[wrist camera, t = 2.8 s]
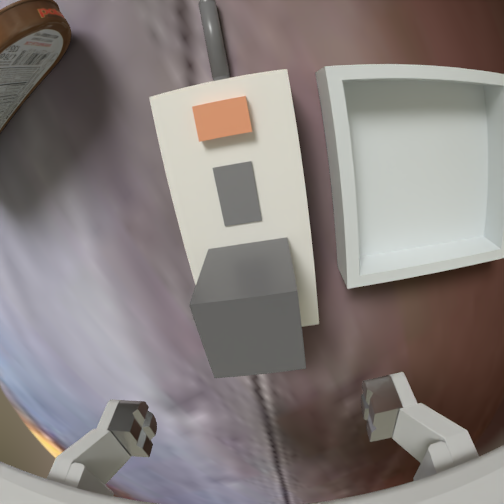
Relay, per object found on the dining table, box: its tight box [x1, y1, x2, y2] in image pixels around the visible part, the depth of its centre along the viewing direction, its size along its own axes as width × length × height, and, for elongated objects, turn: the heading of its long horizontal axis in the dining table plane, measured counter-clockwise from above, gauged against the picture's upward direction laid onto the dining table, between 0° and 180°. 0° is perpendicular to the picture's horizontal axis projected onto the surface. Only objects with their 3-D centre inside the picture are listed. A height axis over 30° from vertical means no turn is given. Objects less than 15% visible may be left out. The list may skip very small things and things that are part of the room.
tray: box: [315, 64, 504, 289], centre depth 18 cm, size 13×13×3 cm
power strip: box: [149, 0, 319, 327], centre depth 17 cm, size 21×7×4 cm, turn 10°
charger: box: [190, 237, 306, 378], centre depth 17 cm, size 4×4×7 cm
